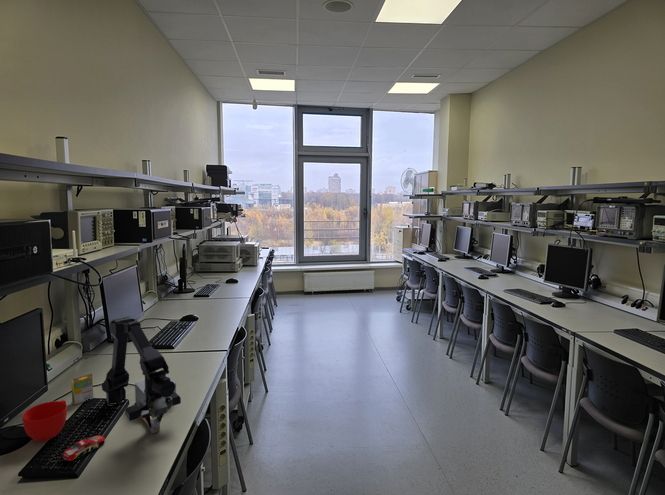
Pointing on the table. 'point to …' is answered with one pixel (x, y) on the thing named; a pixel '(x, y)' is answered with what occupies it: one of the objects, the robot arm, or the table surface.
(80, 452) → the race car
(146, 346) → the robot arm
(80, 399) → the crayon box
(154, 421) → the gray mallet
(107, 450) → the table surface
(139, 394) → the cabinet
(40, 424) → the red spouted bowl
